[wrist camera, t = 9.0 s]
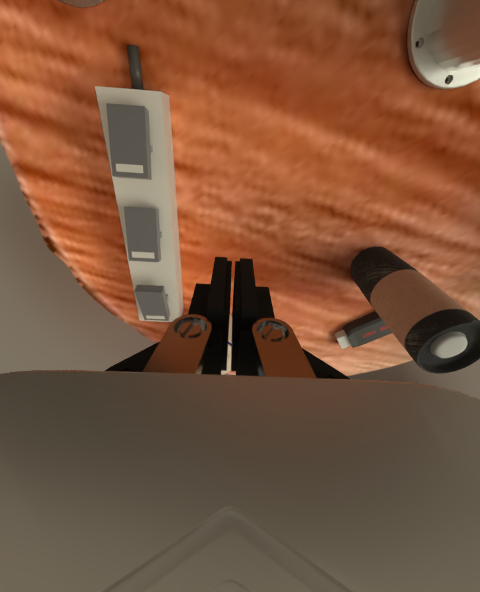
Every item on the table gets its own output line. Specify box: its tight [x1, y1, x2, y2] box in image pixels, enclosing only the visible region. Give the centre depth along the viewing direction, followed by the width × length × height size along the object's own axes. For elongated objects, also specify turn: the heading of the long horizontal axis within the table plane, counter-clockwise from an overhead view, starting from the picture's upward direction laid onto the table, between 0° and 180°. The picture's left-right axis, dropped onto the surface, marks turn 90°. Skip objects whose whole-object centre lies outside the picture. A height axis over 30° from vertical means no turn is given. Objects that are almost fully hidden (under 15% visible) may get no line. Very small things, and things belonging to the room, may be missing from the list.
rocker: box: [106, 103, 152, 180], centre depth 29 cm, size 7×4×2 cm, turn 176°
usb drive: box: [334, 312, 392, 349], centre depth 50 cm, size 5×12×3 cm, turn 122°
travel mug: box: [350, 247, 480, 373], centre depth 36 cm, size 8×8×20 cm
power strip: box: [95, 45, 184, 322], centre depth 36 cm, size 36×7×5 cm, turn 176°
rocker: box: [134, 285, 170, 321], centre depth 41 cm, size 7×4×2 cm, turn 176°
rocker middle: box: [124, 206, 161, 262], centre depth 34 cm, size 7×4×2 cm, turn 176°
